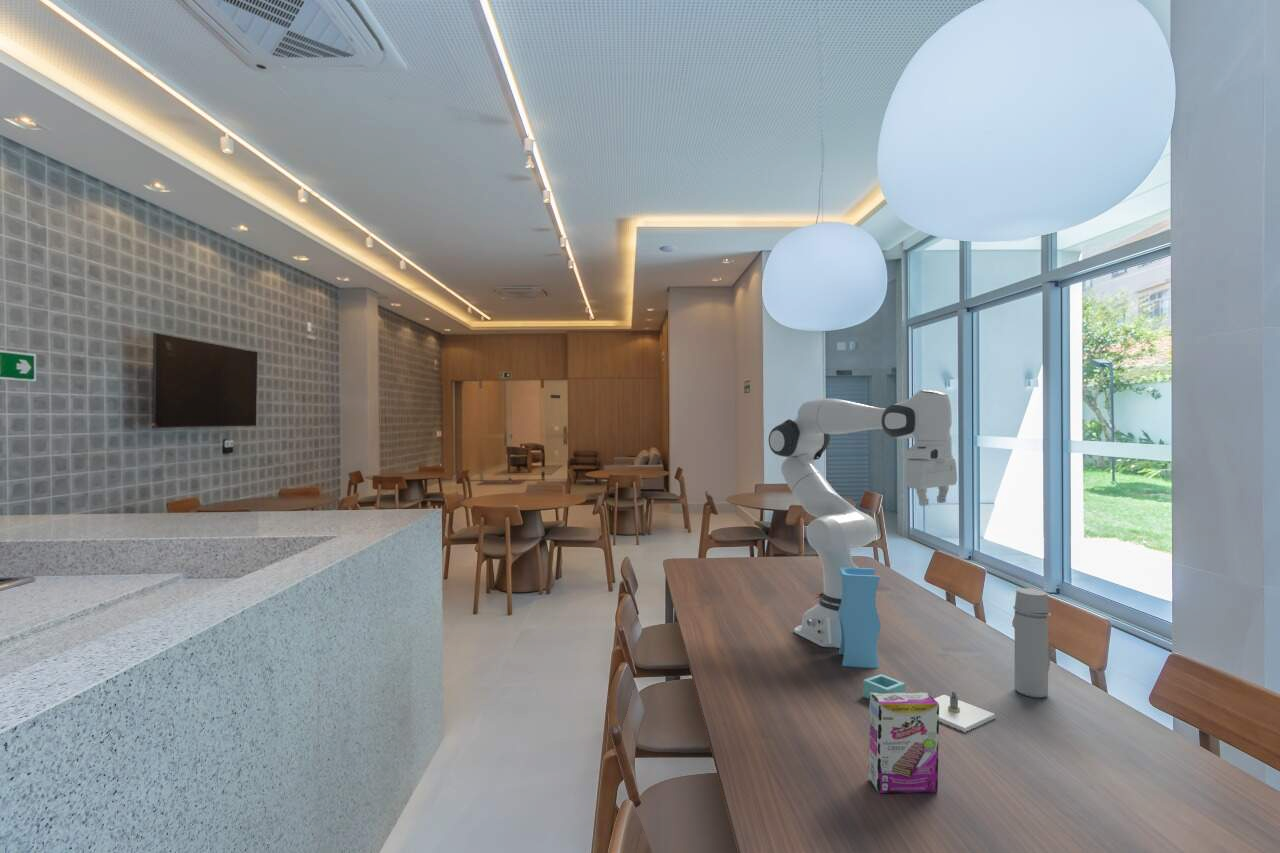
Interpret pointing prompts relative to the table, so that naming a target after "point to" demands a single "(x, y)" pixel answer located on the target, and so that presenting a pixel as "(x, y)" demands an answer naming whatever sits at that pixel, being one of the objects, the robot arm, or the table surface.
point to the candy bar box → (903, 742)
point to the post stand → (961, 713)
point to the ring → (882, 685)
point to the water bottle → (1031, 642)
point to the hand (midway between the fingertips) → (932, 504)
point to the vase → (859, 617)
